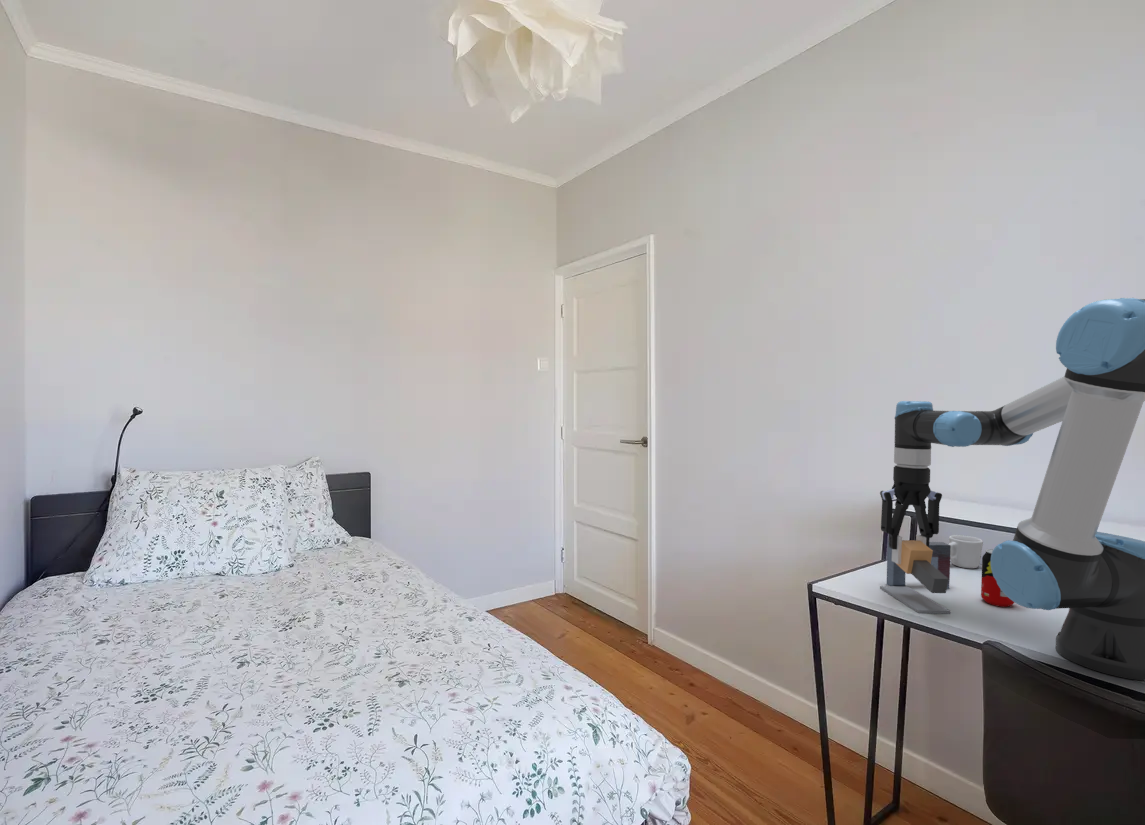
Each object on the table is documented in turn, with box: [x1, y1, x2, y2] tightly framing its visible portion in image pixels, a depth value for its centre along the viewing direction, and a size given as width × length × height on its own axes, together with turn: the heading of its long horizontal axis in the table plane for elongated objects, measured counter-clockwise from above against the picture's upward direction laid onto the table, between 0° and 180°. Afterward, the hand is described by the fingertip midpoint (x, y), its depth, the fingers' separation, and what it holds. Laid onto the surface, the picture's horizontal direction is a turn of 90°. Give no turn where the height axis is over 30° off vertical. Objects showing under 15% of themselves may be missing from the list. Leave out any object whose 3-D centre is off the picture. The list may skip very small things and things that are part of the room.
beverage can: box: [980, 548, 1015, 608], centre depth 131 cm, size 6×6×12 cm
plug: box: [896, 539, 948, 594], centre depth 129 cm, size 13×5×6 cm, turn 179°
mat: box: [879, 585, 951, 615], centre depth 133 cm, size 16×7×1 cm, turn 179°
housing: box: [886, 540, 951, 590], centre depth 143 cm, size 3×14×11 cm, turn 89°
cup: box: [947, 534, 984, 569], centre depth 160 cm, size 11×8×8 cm
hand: (908, 562), depth 135 cm, fingers closed on plug, 5 cm apart
